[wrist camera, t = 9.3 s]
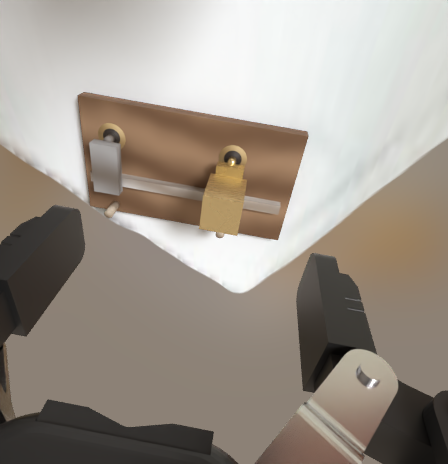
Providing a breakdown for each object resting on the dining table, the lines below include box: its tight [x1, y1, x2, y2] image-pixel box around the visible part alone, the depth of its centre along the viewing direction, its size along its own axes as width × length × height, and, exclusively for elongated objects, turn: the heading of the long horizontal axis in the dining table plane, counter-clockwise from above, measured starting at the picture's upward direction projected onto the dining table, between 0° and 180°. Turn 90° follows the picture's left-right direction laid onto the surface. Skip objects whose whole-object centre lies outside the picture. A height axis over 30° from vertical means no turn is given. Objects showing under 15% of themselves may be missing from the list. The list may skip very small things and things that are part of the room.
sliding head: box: [199, 156, 247, 236], centre depth 36 cm, size 6×4×7 cm, turn 172°
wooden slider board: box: [78, 92, 308, 240], centre depth 39 cm, size 14×25×4 cm, turn 82°
